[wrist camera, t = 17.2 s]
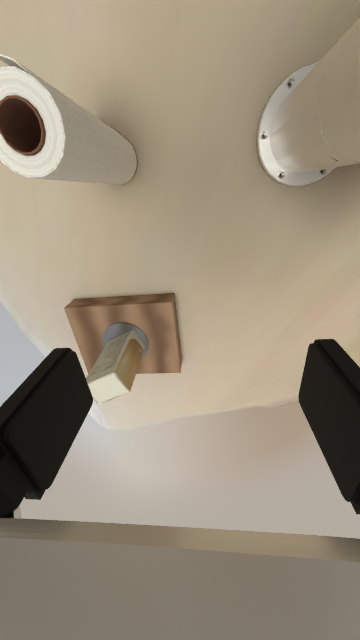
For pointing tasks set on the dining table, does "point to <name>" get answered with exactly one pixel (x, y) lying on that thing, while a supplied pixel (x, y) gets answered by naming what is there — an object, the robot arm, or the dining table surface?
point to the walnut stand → (129, 328)
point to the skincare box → (116, 367)
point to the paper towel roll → (56, 134)
